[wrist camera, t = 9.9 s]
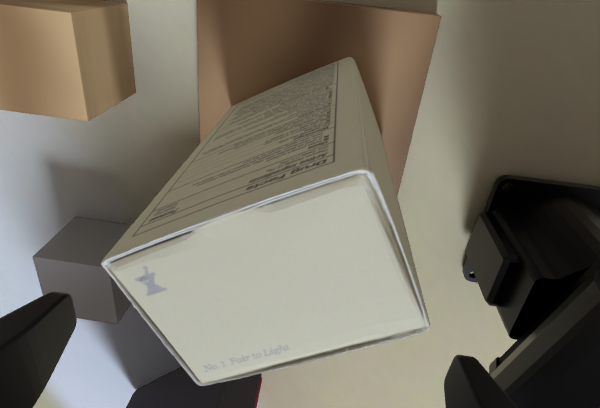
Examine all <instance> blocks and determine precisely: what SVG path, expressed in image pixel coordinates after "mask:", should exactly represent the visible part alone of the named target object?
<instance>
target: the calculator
mask: <svg viewBox="0 0 600 408" xmlns="http://www.w3.org/2000/svg"><path fill="white" fill-rule="evenodd" d="M261 374H262V373H261ZM261 374H256V375H252V376H248V377H244V378H240V379H235V380H230V381H225V382H220V383H215V384H211V385H206V386H199V385H197V384H196V383H195V382H194V381H193V379H192V378H191V377H190V376H189V374H188V373H187V372H186V371H185V370H184V368H183V367H181V368H179V369H177V370H175V371H173V372H171V373H169V374H167V375H165V376H163V377H161V378H159V379H157V380H155V381H153V382H151V383H149V384H147V385H145V386H143V387H142V388H140V389H138V390H136V391H135V392H134V394H133V395H132V397H131V399H130V401H129V403H128V405H127V407H126V408H256V407H257V402H258V397H259V392H260V387H261V382H262V377H261Z"/></svg>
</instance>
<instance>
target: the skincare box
mask: <svg viewBox="0 0 600 408" xmlns="http://www.w3.org/2000/svg"><path fill="white" fill-rule="evenodd" d="M101 265H102V266H103V268H104V269H105V270H106V271H107V272H108V273H109V275H110V276H111V277H112V278H113V279H114V281H115V282H116V284H117V285H118V286H119V288H120V289H121V290H122V291H123V293H124V294H125V295H126V297H127V298H128V299H129V300H130V301H131V303H132V304H133V306H134V307H135V308H136V309H137V310H138V312H139V313H140V315H141V316H142V317H143V319H144V320H145V321H146V322H147V324H148V325H149V326H150V327H151V329H152V330H153V331H154V333H155V334H156V335H157V336H158V337H159V339H160V340H161V341H162V343H163V344H164V345H165V347H166V348H167V349H168V350H169V352H170V353H171V354H172V355H173V356H174V357H175V358H176V360H177V361H178V362H179V363H180V365H181V366H182V367H183V368H184V370H185V371H186V372H187V373H188V374H189V376H190V377H191V378H192V379H193V381H194V382H195V383H196V384H197V385H199V386H206V385H211V384H215V383H220V382H225V381H230V380H235V379H240V378H244V377H248V376H252V375H256V374H261V373H265V372H269V371H273V370H278V369H282V368H286V367H290V366H295V365H299V364H303V363H306V362H310V361H314V360H319V359H325V358H327V357H329V356H335V355H339V354H343V353H347V352H352V351H355V350H360V349H363V348H366V347H370V346H374V345H378V344H383V343H386V342H390V341H394V340H399V339H402V338H406V337H410V336H414V335H418V334H422V333H424V332H427V331H428V330H429V329H430V322H429V318H428V314H427V310H426V307H425V303H424V299H423V295H422V292H421V288H420V284H419V280H418V276H417V272H416V268H415V265H414V261H413V257H412V253H411V249H410V245H409V241H408V237H407V233H406V229H405V226H404V222H403V218H402V214H401V210H400V206H399V202H398V199H397V195H396V191H395V187H394V183H393V179H392V175H391V171H390V167H389V163H388V159H387V155H386V151H385V147H384V143H383V139H382V136H381V133H380V130H379V127H378V124H377V121H376V118H375V115H374V112H373V109H372V106H371V103H370V100H369V98H368V95H367V92H366V89H365V86H364V83H363V81H362V78H361V75H360V73H359V70H358V67H357V65H356V62H355V60H354V59H353V58H352V57H347V58H344V59H341V60H339V61H336V62H334V63H331V64H329V65H326V66H324V67H321V68H319V69H316V70H314V71H312V72H309V73H307V74H304V75H302V76H299V77H297V78H295V79H292V80H290V81H288V82H285V83H283V84H281V85H278V86H276V87H274V88H271V89H269V90H267V91H265V92H262V93H260V94H258V95H255V96H253V97H251V98H249V99H247V100H245V101H242V102H240V103H238V104H236V105H234V106H232V107H231V108H230V109H229V110H228V111H227V112H226V114H225V115H224V116H223V117H222V118H221V119H220V121H219V122H218V123H217V124H216V125H215V127H214V128H213V129H212V130H211V131H210V133H209V134H208V135H207V136H206V137H205V138H204V140H203V141H202V142H201V143H200V144H199V146H198V147H197V148H196V149H195V150H194V152H193V153H192V154H191V155H190V156H189V158H188V159H187V160H186V161H185V162H184V163H183V165H182V166H181V167H180V168H179V169H178V171H177V172H176V173H175V174H174V175H173V177H172V178H171V179H170V180H169V181H168V182H167V184H166V185H165V186H164V187H163V189H162V190H161V191H160V192H159V193H158V194H157V196H156V197H155V198H154V199H153V200H152V202H151V203H150V204H149V205H148V206H147V208H146V209H145V210H144V211H143V212H142V214H141V215H140V216H139V217H138V218H137V220H136V221H135V222H134V223H133V224H132V225H131V226H130V228H129V229H128V230H127V231H126V232H125V234H124V235H123V236H122V237H121V239H120V240H119V241H118V242H117V243H116V244H115V246H114V247H113V248H112V249H111V250H110V252H109V253H108V254H107V255H106V256H105V257H104V259H103V260H102V262H101Z"/></svg>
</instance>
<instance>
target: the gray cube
mask: <svg viewBox="0 0 600 408" xmlns="http://www.w3.org/2000/svg"><path fill="white" fill-rule="evenodd" d="M130 226H131V225H128V224H121V223H114V222H107V221H100V220H94V219H87V218H80V217H75V218H74V219H73V220H72V221H71V222H70V223H68V224H67V225H66V226H65V227H64V228H63V229H62V230H61V231H60V232H59V233H58V234H57V235H56V236H54V237H53V238H52V239H51V240H50V241H49V242H48V243H47V244H46V245H45V246H44V247H43V248H42V249H41V250H39V251H38V252H37V253H36V254H35V255H34V256H33V260H34V264H35V267H36V271H37V275H38V278H39V282H40V286H41V289H42V293H43V295H45V294H47V293H49V292H54V291H55V292H62V293H68V294H70V295H71V296H72V299H73V304H74V309H75V313H76V318H80V319H87V320H93V321H100V322H106V323H113V324H118V323H119V321H120V320H121V318H122V317H123V315H124V314H125V312H126V311H127V309H128V307H129V306H130V304H131V301H130V300H129V299H128V298H127V297H126V295H125V294H124V293H123V291H122V290H121V289H120V288H119V286H118V285H117V284H116V282H115V281H114V279H113V278H112V277H111V276H110V275H109V273H108V272H107V271H106V270H105V269H104V268H103V266H102V265H101V262H102V260H103V259H104V257H105V256H106V255H107V254H108V253H109V252H110V250H111V249H112V248H113V247H114V246H115V244H116V243H117V242H118V241H119V240H120V239H121V237H122V236H123V235H124V234H125V232H126V231H127V230H128V229H129V228H130Z"/></svg>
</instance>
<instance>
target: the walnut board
mask: <svg viewBox="0 0 600 408" xmlns="http://www.w3.org/2000/svg"><path fill="white" fill-rule="evenodd" d="M440 20H441V16H440V15H438V14H434V13H425V12H417V11H408V10H399V9H391V8H382V7H373V6H365V5H356V4H347V3H339V2H330V1H321V0H197V35H198V76H199V117H200V143H201V142H202V141H203V140H204V138H205V137H206V136H207V135H208V134H209V133H210V131H211V130H212V129H213V128H214V127H215V125H216V124H217V123H218V122H219V121H220V119H221V118H222V117H223V116H224V115H225V114H226V112H227V111H228V110H229V109H230V108H231V107H232V106H234V105H236V104H238V103H240V102H242V101H245V100H247V99H249V98H251V97H253V96H255V95H258V94H260V93H262V92H265V91H267V90H269V89H271V88H274V87H276V86H278V85H281V84H283V83H285V82H288V81H290V80H292V79H295V78H297V77H299V76H302V75H304V74H307V73H309V72H312V71H314V70H316V69H319V68H321V67H324V66H326V65H329V64H331V63H334V62H336V61H339V60H341V59H344V58H347V57H352V58H353V59H354V60H355V62H356V65H357V67H358V70H359V73H360V75H361V78H362V81H363V83H364V86H365V89H366V92H367V95H368V98H369V100H370V103H371V106H372V109H373V112H374V115H375V118H376V121H377V124H378V127H379V130H380V133H381V136H382V139H383V143H384V147H385V151H386V155H387V159H388V163H389V167H390V171H391V175H392V179H393V183H394V187H395V191H396V195H398V191H399V187H400V183H401V179H402V175H403V171H404V167H405V163H406V159H407V154H408V150H409V146H410V142H411V138H412V134H413V130H414V126H415V122H416V118H417V114H418V110H419V105H420V101H421V97H422V93H423V89H424V85H425V81H426V77H427V73H428V69H429V65H430V60H431V56H432V52H433V48H434V44H435V40H436V36H437V32H438V28H439V24H440Z"/></svg>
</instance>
